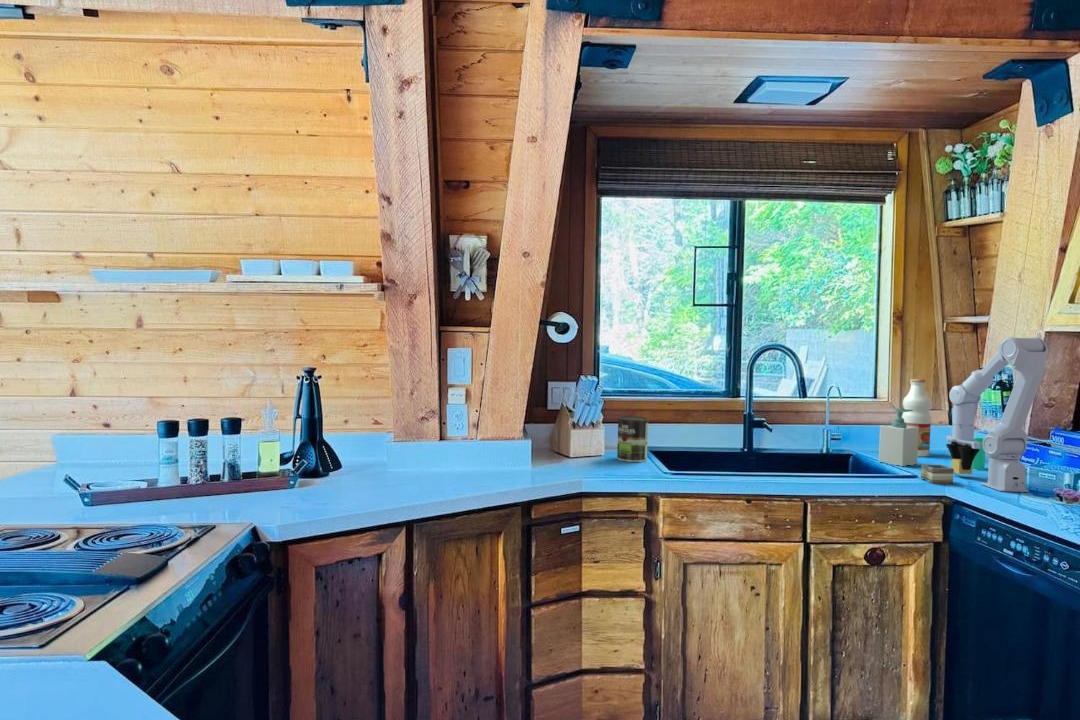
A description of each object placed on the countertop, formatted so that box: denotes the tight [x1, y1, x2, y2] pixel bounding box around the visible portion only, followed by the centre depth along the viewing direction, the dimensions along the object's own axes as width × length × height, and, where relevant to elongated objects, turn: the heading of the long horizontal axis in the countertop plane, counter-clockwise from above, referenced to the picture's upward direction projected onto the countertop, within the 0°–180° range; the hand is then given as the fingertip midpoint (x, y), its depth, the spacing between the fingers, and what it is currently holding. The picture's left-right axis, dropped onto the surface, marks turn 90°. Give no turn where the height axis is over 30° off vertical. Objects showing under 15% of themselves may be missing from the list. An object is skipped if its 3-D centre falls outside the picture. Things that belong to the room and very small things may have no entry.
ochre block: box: [951, 458, 973, 475], centre depth 214 cm, size 4×4×4 cm
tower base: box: [920, 463, 955, 485], centre depth 206 cm, size 6×6×4 cm
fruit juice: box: [902, 378, 932, 458], centre depth 252 cm, size 9×9×28 cm
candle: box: [972, 431, 986, 470], centre depth 228 cm, size 6×6×12 cm
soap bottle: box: [878, 407, 919, 467], centre depth 234 cm, size 9×9×19 cm
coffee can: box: [616, 416, 650, 463], centre depth 232 cm, size 10×10×14 cm
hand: (961, 468), depth 214 cm, fingers closed on ochre block, 4 cm apart
